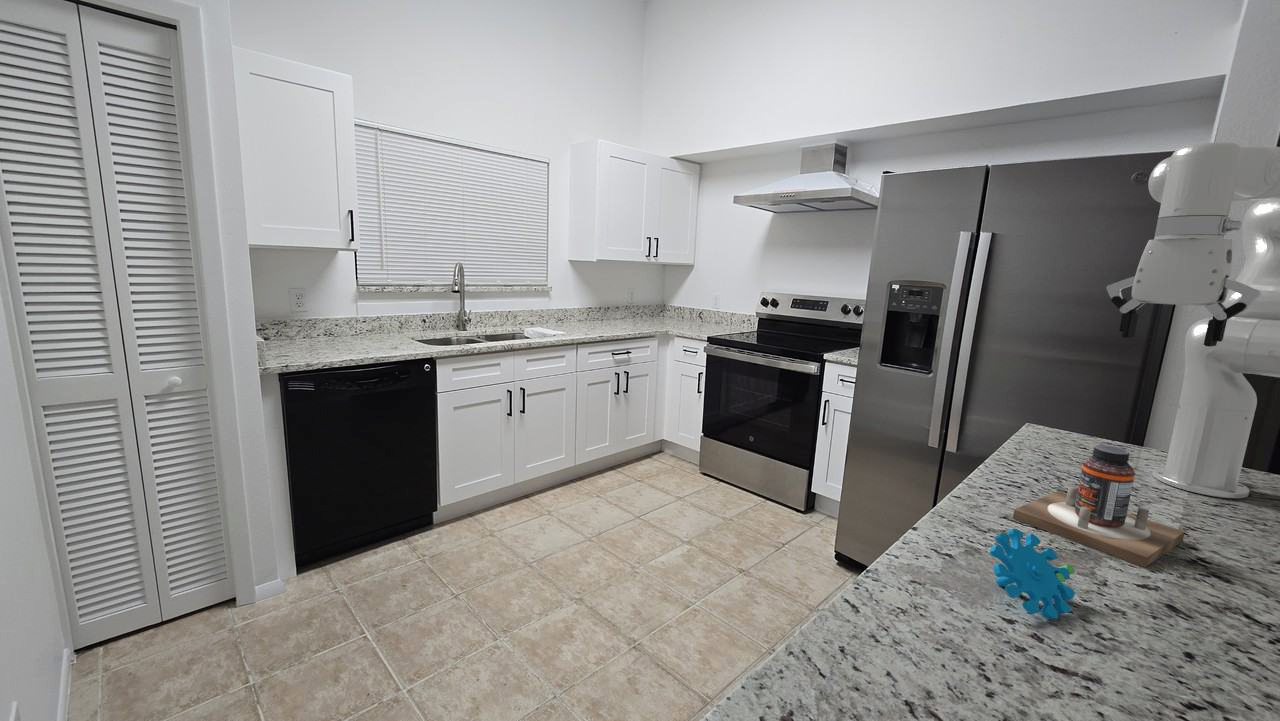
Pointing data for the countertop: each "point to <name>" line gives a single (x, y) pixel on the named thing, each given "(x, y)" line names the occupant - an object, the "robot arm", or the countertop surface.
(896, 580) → the countertop surface
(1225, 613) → the countertop surface
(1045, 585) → the gear
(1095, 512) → the supplement bottle
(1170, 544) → the pin board
